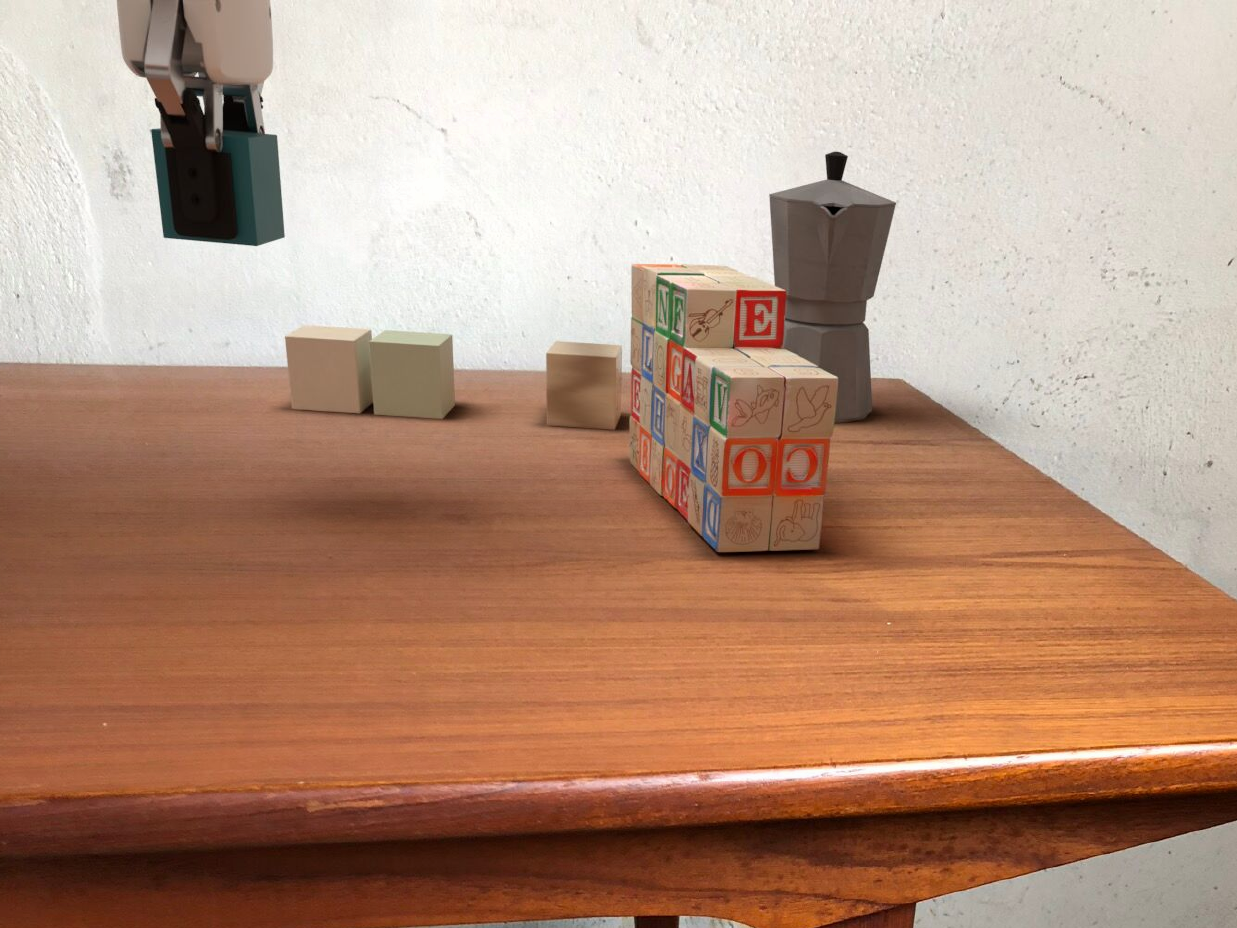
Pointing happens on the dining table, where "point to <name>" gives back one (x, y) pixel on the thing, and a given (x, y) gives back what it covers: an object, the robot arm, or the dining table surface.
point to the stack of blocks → (727, 408)
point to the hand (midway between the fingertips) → (224, 228)
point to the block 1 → (329, 369)
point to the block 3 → (583, 385)
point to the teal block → (237, 188)
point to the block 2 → (412, 374)
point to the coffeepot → (831, 277)
